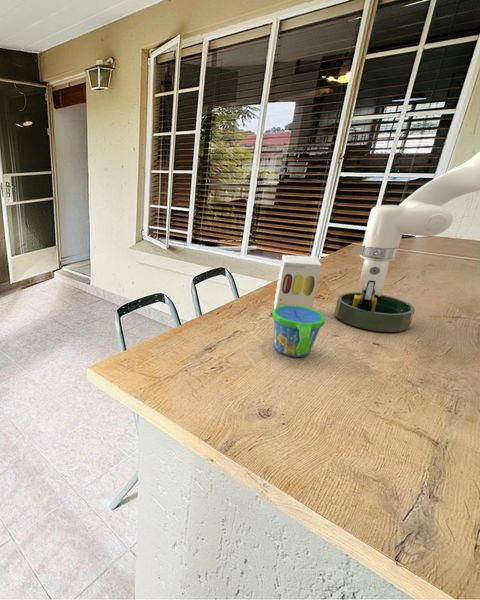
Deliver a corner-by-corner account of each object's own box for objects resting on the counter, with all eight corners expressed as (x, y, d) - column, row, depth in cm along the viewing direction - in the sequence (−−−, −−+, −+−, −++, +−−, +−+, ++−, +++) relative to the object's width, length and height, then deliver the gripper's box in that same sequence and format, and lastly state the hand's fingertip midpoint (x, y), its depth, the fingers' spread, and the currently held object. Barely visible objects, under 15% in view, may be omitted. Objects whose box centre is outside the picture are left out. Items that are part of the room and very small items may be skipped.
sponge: (372, 315, 101) (376, 297, 99) (372, 319, 98) (376, 301, 96) (350, 311, 104) (354, 294, 102) (350, 315, 101) (354, 298, 99)
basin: (406, 316, 100) (412, 298, 98) (410, 339, 88) (417, 319, 86) (336, 305, 110) (340, 288, 108) (331, 324, 98) (335, 306, 96)
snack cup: (322, 371, 78) (332, 330, 74) (269, 363, 82) (276, 324, 78) (310, 339, 91) (318, 303, 87) (265, 334, 95) (270, 299, 91)
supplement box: (273, 315, 106) (282, 261, 100) (272, 304, 113) (280, 254, 107) (311, 319, 102) (322, 264, 96) (307, 307, 109) (317, 255, 103)
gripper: (398, 261, 86) (378, 328, 93) (395, 247, 98) (378, 307, 104) (359, 257, 90) (344, 321, 97) (361, 244, 102) (347, 302, 109)
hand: (362, 313), depth 101 cm, fingers closed on sponge, 3 cm apart
